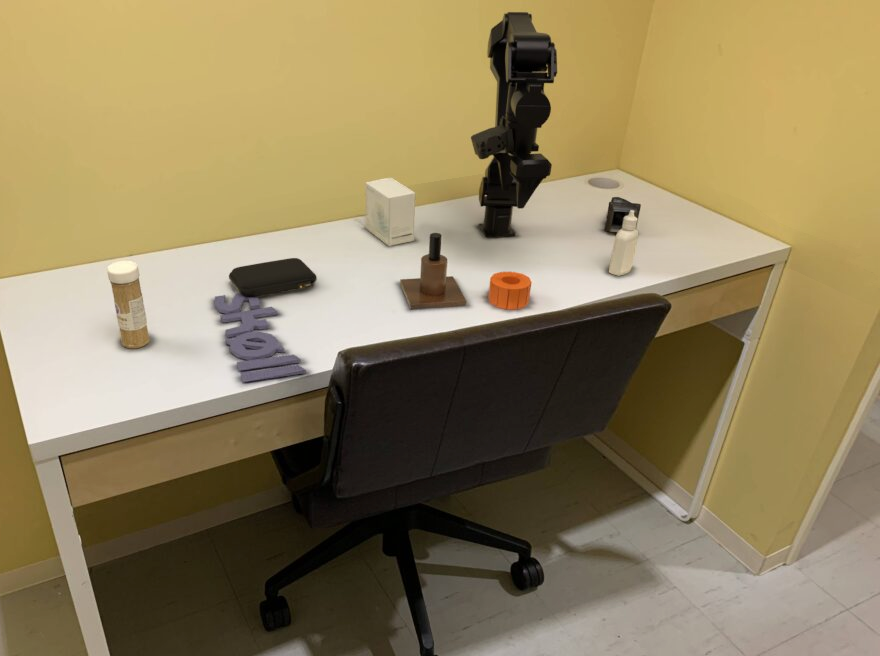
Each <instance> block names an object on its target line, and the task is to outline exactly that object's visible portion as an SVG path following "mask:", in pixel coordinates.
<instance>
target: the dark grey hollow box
mask: <svg viewBox="0 0 880 656" xmlns="http://www.w3.org/2000/svg"><path fill="white" fill-rule="evenodd" d="M641 208H642V204H641V203H637V202H636V203H635V202H631V201H629V200H628V199H625V198H623V197H620V196H612V197H611V200H610V201H609V202H608V207H607V213H606V219H605V225H604V232H612V233H618V231H619V230H620V229H622V225H623V220H624V217H625V216H628V215H629V213H630V210H634V216H635V217H636V218H637V224H636V228H637V226H638V221H639V216H640V212H641Z"/></svg>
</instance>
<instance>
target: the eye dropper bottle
mask: <svg viewBox="0 0 880 656" xmlns="http://www.w3.org/2000/svg"><path fill="white" fill-rule="evenodd" d="M636 224H637V225H638V222H637V218H636V217H635V216H634V210H630V213H629V215H628V216H625V217H624V220H623V225H622V229H620V230H619V231H618V232H616V235H615V238H614V243H613V246H612V247H613V248H612V253H611V258H610V262H609V268H608V272H609V274H612V275H615V276H617V277H618V276H619V277H620V276H624V275H626V274H628V273H630V272H631V270H632V268H633V264H634V258H635V253H636V248H637V244H638V239H639V230H638V229H637V227H636Z"/></svg>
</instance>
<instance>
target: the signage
mask: <svg viewBox="0 0 880 656" xmlns="http://www.w3.org/2000/svg"><path fill="white" fill-rule="evenodd" d="M246 301H247V302H249V310H243V311H242V310H241V309H242V307H243V305H244V303H245V302H246ZM214 307H215V309H216V310H217V311H218V313H220V314H221V315H219V316H220V320H221V323H230V322H238V321H241V324H240V325H238V326H235V327H231V328H227V329H225V330H224V331H225V335H226V337H227V338H225V343H226V345H228V346H230V353H231V354H232V355H234V356H235V357H236V358H238V359H242V360H241V361H236V366H237V369H238V371H244V372H240V379H241V380H242V382H243V383H245V382H246V383H247V382H253V381H259V380H260V381H261V380H268V379H275V378H281V377H288V376H295V375H301V374H307V371H306V370H307V369H305V368H304V367H303V366H300V365H299V364H298V363H301V362H302V361H301V358H300V357H298V356H297V355H296V354H293V353H291V354H285V355H279V356H274V354H276V353H285V351H286V350H285V348H284V347H283V346H282V345H279V340H278V339H277V338H276V337H275V336H274V335H273V334H272V333H268V332H264V331H254V330H266V329H269V328H270V327H269V324H268V321H267V319H266V317H271V316H277V315H278V314H279V313H278V310H277V309H275V308H274V307H272V306H267V307H261V304H260V298H259V296H258V297H257V296H255V297H245V296H244V295H242V294H241V293H240V292H238V293H236V294H235V295H233V298H232V300H231V302H230V304H228V305H227V304H226V295H225V294H224V295H217V296H214ZM263 317H265V318H264V319H258V318H263ZM272 356H273V357H272ZM292 364H296V365H292ZM283 365H287V366H283ZM288 365H290V366H288ZM276 366H281V367H276ZM282 366H283V367H282ZM268 367H269V368H268ZM270 367H274V368H270ZM263 368H266V369H263ZM267 368H268V369H267ZM254 369H259V370H254ZM260 369H261V370H260ZM246 370H247V371H246ZM248 370H252V371H248Z"/></svg>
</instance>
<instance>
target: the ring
mask: <svg viewBox="0 0 880 656" xmlns="http://www.w3.org/2000/svg"><path fill="white" fill-rule="evenodd" d="M531 290H532V280H531V278H530V277H529V276H527V275H526V274H524V273H522V272H517V271H499V272H496V273H493V274H492V275H491V276H490V278H489V287H488V295H487V296H488V297H487V299H488V301H489V304H491V305H493V306H494V307H496V308H498V309H503V310H519V309H520V310H521V309H523V308H525V307H527V306H528V304H529V303H530V297H531V296H530V295H531Z"/></svg>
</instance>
